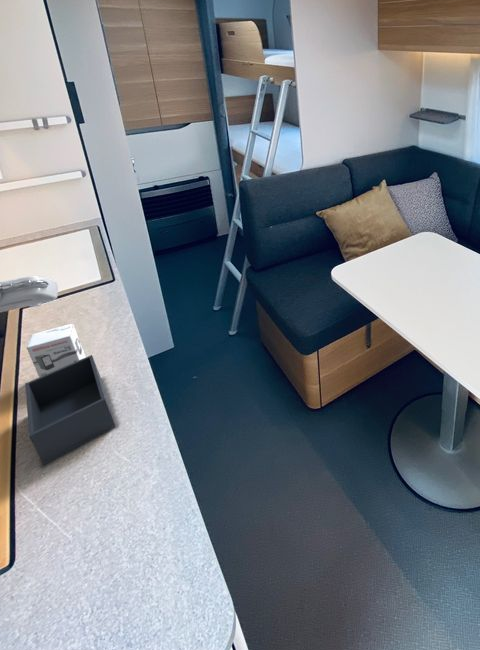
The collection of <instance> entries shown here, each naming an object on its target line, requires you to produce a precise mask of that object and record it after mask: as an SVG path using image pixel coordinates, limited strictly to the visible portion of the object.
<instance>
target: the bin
mask: <svg viewBox="0 0 480 650" xmlns="http://www.w3.org/2000/svg"><path fill="white" fill-rule="evenodd" d="M95 361H96V360H94V356H93V354H90V355H88V356H86V358H83V359H81V360H79V361H76V362H74V363H72V364H69V365H67V366H65V367H62V368H60V369H58V370H56V371H53V372H51V373H49V374H46V375H44V376H42V377H39V376H38V377H37V378H34V379H32V380H30V381H28V382H25V383H24V388H25V398H26V399H25V400H26V411H27V422H28V435H29V439H30V441H31V442H32V444H33V447H34V448H35V450H36V452H37V454H38V456H39V458H40V460H41V462H42V464H43V465H46V464H48V463H51V462H52V461H54V460H56V459H58V458H61V456H64V455H65V454H67V453H69V452H71V451H72V450H75V449H76V448H78V447H80V446H82V445H85V444H86V443H88V442H90V441H91V440H93V439H95V438H97V437H99V436H101V435H102V434H105V433H106V432H108V431H110V430H112V429H115V428H116V422H115V419H114V416H113V413H112V409H111V407H110V403H109V399H108V396H107V393H106V390H105V386H104V382H103V379H102V377H101V374H100V372H99V370H98V369H99V368H98V367H97V364H96V362H95Z"/></svg>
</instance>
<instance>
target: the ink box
mask: <svg viewBox="0 0 480 650" xmlns="http://www.w3.org/2000/svg"><path fill="white" fill-rule="evenodd" d="M75 327H76V326H75V325H74V324H72V323H69V324H65V325H61V326H57V327H53V328H51V329H47V330H43V331H39V332H35V333H33V334H31V335H30V336H29V338H28V342H27V343H26V346H25V347H26V348H25V349H26V350H27V352H28V354H29V357H30V359H31V361H32V364H33V366H34V368H35V371H36V373H37V376H38V378H39V377H42V376H44V375H46V374H49V373H51V372H53V371H56V370H58V369H60V368H62V367H65V366H67V365H69V364H72V363H74V362H76V361H79V360H81V359H83V358H86V357H87V356H86V354H85V351H84V348H83V346H82V343H81V340H80V337H79V335H78V333H77V330H76V328H75Z"/></svg>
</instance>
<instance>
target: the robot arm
mask: <svg viewBox="0 0 480 650" xmlns="http://www.w3.org/2000/svg"><path fill="white" fill-rule="evenodd" d="M58 290H59V289H58V283H57V281H55V280H54V279H52V278H47V277H45V276H39V275H30V276H24V277H19V278H14V279H10V280H9V279H8V280H4V281H0V314H1V313H4V312H9V311H13V310H18V309H23V308H26V307H29V308H36V307H41V306H42V304H44V303H49V302H53V301H54V300H56V299H57V298H58V296H59V291H58Z"/></svg>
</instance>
